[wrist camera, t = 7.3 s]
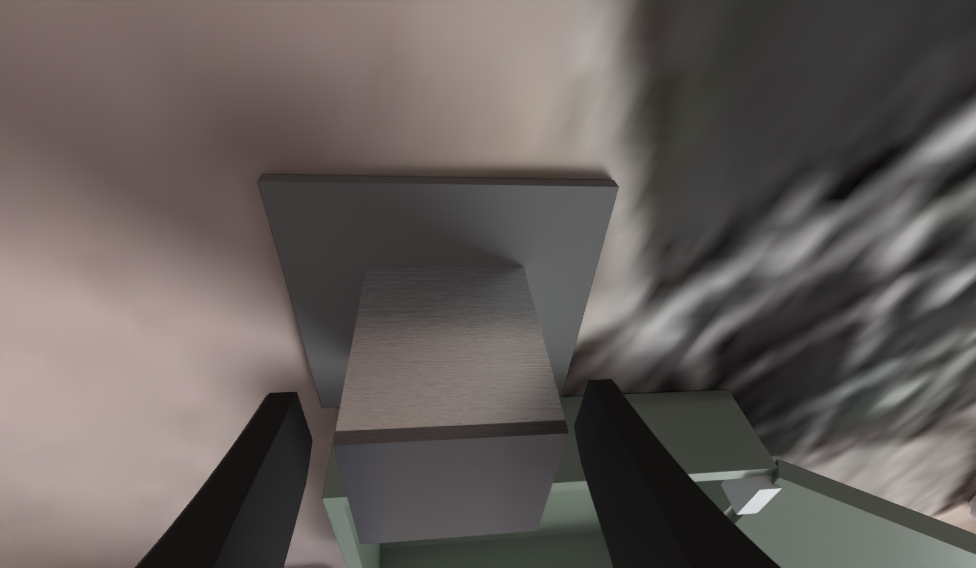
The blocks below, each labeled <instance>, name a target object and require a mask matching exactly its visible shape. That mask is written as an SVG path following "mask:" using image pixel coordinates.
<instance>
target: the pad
mask: <svg viewBox="0 0 976 568" xmlns="http://www.w3.org/2000/svg"><path fill="white" fill-rule="evenodd" d="M257 182H258V186H259V189H260V193H261V196H262V200H263V203H264V207H265V210H266V214H267V217H268V221H269V224H270V228H271V231H272V235H273V238H274V242H275V245H276V249H277V252H278V256H279V259H280V263H281V266H282V270H283V274H284V277H285V281H286V284H287V288H288V291H289V295H290V298H291V302H292V305H293V309H294V312H295V316H296V319H297V323H298V326H299V330H300V333H301V337H302V340H303V344H304V347H305V351H306V354H307V358H308V362H309V365H310V369H311V372H312V376H313V379H314V383H315V386H316V390H317V393H318V397H319V400H320V404H321V407H322V408H336V407H340V404H341V399H342V393H343V388H344V383H345V378H346V372H347V367H348V362H349V356H350V351H351V346H352V341H353V335H354V330H355V325H356V319H357V314H358V309H359V304H360V298H361V293H362V288H363V282H364V277H365V272H366V267H492V266H524V269H525V273H526V276H527V280H528V284H529V288H530V291H531V295H532V299H533V302H534V306H535V310H536V313H537V317H538V321H539V324H540V328H541V332H542V335H543V339H544V343H545V347H546V350H547V354H548V358H549V361H550V365H551V369H552V372H553V376H554V380H555V383H556V387H557V391H558V394H559V398H561V395H562V391H563V388H564V384H565V381H566V377H567V373H568V370H569V366H570V362H571V359H572V355H573V352H574V348H575V344H576V341H577V337H578V333H579V330H580V326H581V322H582V319H583V315H584V312H585V308H586V304H587V301H588V297H589V293H590V290H591V286H592V283H593V279H594V275H595V272H596V268H597V264H598V261H599V257H600V254H601V250H602V246H603V243H604V239H605V235H606V232H607V228H608V224H609V221H610V217H611V214H612V210H613V206H614V203H615V199H616V195H617V192H618V188H619V187H618V185H617V184H616V182H615V181H614V180H574V179H516V178H458V177H400V176H342V175H284V174H262V175H261V177H260V178H259V180H258V181H257Z"/></svg>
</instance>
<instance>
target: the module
mask: <svg viewBox="0 0 976 568" xmlns="http://www.w3.org/2000/svg"><path fill="white" fill-rule="evenodd" d="M568 435H569V431H568V428H567V424H566V420H565V417H564V413H563V409H562V406H561V402H560V398H559V394H558V391H557V387H556V383H555V380H554V376H553V372H552V369H551V365H550V361H549V358H548V354H547V350H546V347H545V343H544V339H543V335H542V332H541V328H540V324H539V321H538V317H537V313H536V310H535V306H534V302H533V299H532V295H531V291H530V288H529V284H528V280H527V276H526V273H525V269H524V266H492V267H366V272H365V277H364V282H363V288H362V293H361V298H360V304H359V309H358V314H357V319H356V325H355V330H354V335H353V341H352V346H351V351H350V356H349V362H348V367H347V372H346V378H345V383H344V388H343V393H342V399H341V404H340V409H339V415H338V420H337V425H336V430H335V436H334V441H333V449H334V452H335V456H336V460H337V463H338V467H339V470H340V474H341V478H342V481H343V485H344V488H345V492H346V496H347V499H348V503H349V506H350V510H351V514H352V517H353V521H354V524H355V528H356V532H357V535H358V539H359V542H360V545H362V544H375V543H387V542H400V541H413V540H426V539H438V538H451V537H464V536H477V535H489V534H502V533H515V532H527V531H537V530H538V527H539V524H540V521H541V518H542V515H543V512H544V509H545V506H546V503H547V499H548V496H549V493H550V490H551V487H552V484H553V481H554V478H555V475H556V472H557V469H558V466H559V463H560V460H561V457H562V453H563V450H564V447H565V444H566V441H567V438H568Z"/></svg>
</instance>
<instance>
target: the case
mask: <svg viewBox="0 0 976 568" xmlns="http://www.w3.org/2000/svg"><path fill="white" fill-rule="evenodd" d="M624 396H625V397H626V398H627V400H628V401H629V402H630V404H631V405H632V406H633V407H634V409H635V410H636V411H637V413H638V414H639V415H640V417H641V418H642V419H643V420H644V422H645V423H646V424H647V426H648V427H649V428H650V429H651V431H652V432H653V433H654V434H655V436H656V437H657V438H658V439H659V441H660V442H661V443H662V444H663V445H664V447H665V448H666V449H667V450H668V451H669V453H670V454H671V455H672V456H673V458H674V459H675V460H676V461H677V462H678V463H679V465H680V466H681V467H682V468H683V469H684V470H685V472H686V473H687V474H688V475H689V476H690V477H691V478H692V479H693V481H694V482H695V483H696V484H697V485H698V486H699V487H700V488H701V489H702V491H703V492H704V493H705V494H706V495H707V496H708V497H709V498H710V499H711V500H712V501H713V502H714V503H715V504H716V506H717V507H718V508H719V509H720V510H721V511H722V512H723V513H724V514H725V515H726V516H727V517H728V518H729V519H730V520H731V521H732V522H733V523H734V524H735V525H736V526H737V527H738V528H739V529H740V530H741V531H742V532H743V533H744V534H745V535H746V536H747V537H749V538H750V539H751V540H752V541H753V542H754V543H755V544H756V545H757V546H758V547H759V548H760V549H761V550H762V551H763V552H764V553H765V554H767V555H768V556H769V557H770V558H771V559H772V560H773V561H774V562H775V563H777V564H778V565H779V566H780V567H781V568H976V534H974V533H971V532H969V531H966V530H963V529H961V528H958V527H956V526H953V525H950V524H948V523H945V522H942V521H940V520H937V519H934V518H932V517H929V516H927V515H924V514H921V513H919V512H916V511H913V510H911V509H908V508H906V507H903V506H900V505H898V504H895V503H892V502H890V501H887V500H885V499H882V498H879V497H877V496H874V495H871V494H869V493H866V492H864V491H861V490H858V489H856V488H853V487H850V486H848V485H845V484H843V483H840V482H837V481H835V480H832V479H829V478H827V477H824V476H821V475H819V474H816V473H814V472H811V471H808V470H806V469H803V468H800V467H798V466H795V465H793V464H790V463H787V462H785V461H783V460H782V458H781V457H780V456H776V457H771V456H770V454H769V453H768V451H767V449H766V448H765V446H764V445H763V443H762V442H761V440H760V439H759V437H758V435H757V434H756V432H755V431H754V429H753V428H752V426H751V424H750V423H749V421H748V420H747V418H746V417H745V415H744V413H743V412H742V410H741V409H740V407H739V406H738V404H737V403H736V401H735V399H734V398H733V396H732V395H731V393H730V392H729V390H711V391H687V392H664V393H641V394H624ZM582 399H583V396H572V397H561V398H560V402H561V406H562V409H563V413H564V417H565V420H566V424H567V428H568V431H569V435H568V438H567V441H566V444H565V447H564V450H563V453H562V457H561V460H560V463H559V466H558V469H557V472H556V475H555V478H554V481H553V484H552V487H551V490H550V493H549V496H548V499H547V503H546V506H545V509H544V512H543V515H542V518H541V521H540V524H539V527H538V530H537V531H527V532H515V533H502V534H489V535H477V536H464V537H451V538H438V539H426V540H413V541H400V542H387V543H375V544H362V545H360V542H359V539H358V535H357V532H356V528H355V524H354V521H353V517H352V514H351V510H350V506H349V503H348V499H347V496H346V492H345V488H344V485H343V481H342V478H341V474H340V470H339V467H338V463H337V460H336V456H335V452H334V449H333V444H332V449H331V454H330V460H329V465H328V470H327V475H326V481H325V486H324V491H323V496H322V500H323V503H324V505H325V508H326V511H327V514H328V517H329V519H330V522H331V525H332V528H333V530H334V533H335V536H336V539H337V541H338V544H339V547H340V550H341V553H342V555H343V558H344V561H345V564H346V566H347V568H613V565H612V561H611V558H610V554H609V551H608V548H607V545H606V542H605V538H604V535H603V532H602V529H601V526H600V523H599V520H598V517H597V513H596V510H595V507H594V504H593V501H592V498H591V495H590V491H589V488H588V485H587V482H586V479H585V475H584V472H583V469H582V465H581V461H580V456H579V451H578V446H577V441H576V435H575V430H574V424H575V421H576V418H577V415H578V412H579V409H580V406H581V402H582ZM339 409H340V407H339ZM338 415H339V412H338ZM337 420H338V417H337ZM336 425H337V423H336ZM335 430H336V428H335ZM334 436H335V433H334ZM333 441H334V438H333Z"/></svg>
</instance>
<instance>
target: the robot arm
mask: <svg viewBox="0 0 976 568" xmlns="http://www.w3.org/2000/svg"><path fill="white" fill-rule="evenodd" d="M574 430H575V435H576V441H577V446H578V451H579V456H580V461H581V465H582V469H583V472H584V475H585V479H586V482H587V485H588V488H589V491H590V495H591V498H592V501H593V504H594V507H595V510H596V513H597V517H598V520H599V523H600V526H601V529H602V532H603V535H604V538H605V542H606V545H607V548H608V551H609V554H610V558H611V561H612V565H613V568H781V567H780V566H779V565H778V564H777V563H775V562H774V561H773V560H772V559H771V558H770V557H769V556H768V555H767V554H765V553H764V552H763V551H762V550H761V549H760V548H759V547H758V546H757V545H756V544H755V543H754V542H753V541H752V540H751V539H750V538H749V537H747V536H746V535H745V534H744V533H743V532H742V531H741V530H740V529H739V528H738V527H737V526H736V525H735V524H734V523H733V522H732V521H731V520H730V519H729V518H728V517H727V516H726V515H725V514H724V513H723V512H722V511H721V510H720V509H719V508H718V507H717V506H716V504H715V503H714V502H713V501H712V500H711V499H710V498H709V497H708V496H707V495H706V494H705V493H704V492H703V491H702V489H701V488H700V487H699V486H698V485H697V484H696V483H695V482H694V481H693V479H692V478H691V477H690V476H689V475H688V474H687V473H686V472H685V470H684V469H683V468H682V467H681V466H680V465H679V463H678V462H677V461H676V460H675V459H674V458H673V456H672V455H671V454H670V453H669V451H668V450H667V449H666V448H665V447H664V445H663V444H662V443H661V442H660V441H659V439H658V438H657V437H656V436H655V434H654V433H653V432H652V431H651V429H650V428H649V427H648V426H647V424H646V423H645V422H644V420H643V419H642V418H641V417H640V415H639V414H638V413H637V411H636V410H635V409H634V407H633V406H632V405H631V404H630V402H629V401H628V400H627V398H626V397H625V396H624V394H623V393H622V392H621V390H620V389H619V388H618V386H617V385H616V384H615V382H614V381H613V380H612V379H602V380H589V381H588V384H587V387H586V390H585V393H584V396H583V399H582V402H581V406H580V409H579V412H578V415H577V418H576V421H575V424H574ZM311 447H312V437H311V434H310V431H309V428H308V425H307V422H306V419H305V416H304V413H303V410H302V407H301V404H300V401H299V397H298V394H297V392H280V393H269V394H268V395H267V396H266V397H265V398H264V400H263V402H262V403H261V405H260V406H259V408H258V409H257V411H256V412H255V414H254V415H253V417H252V418H251V420H250V421H249V423H248V424H247V425H246V427H245V428H244V430H243V431H242V433H241V434H240V436H239V437H238V438H237V440H236V441H235V443H234V444H233V446H232V447H231V448H230V450H229V451H228V453H227V454H226V455H225V457H224V458H223V459H222V461H221V462H220V463H219V465H218V466H217V467H216V469H215V470H214V471H213V473H212V474H211V475H210V477H209V478H208V480H207V481H206V482H205V484H204V485H203V486H202V487H201V489H200V490H199V491H198V493H197V494H196V495H195V496H194V498H193V499H192V500H191V501H190V503H189V504H188V505H187V506H186V508H185V509H184V510H183V511H182V513H181V514H180V515H179V516H178V517H177V519H176V520H175V521H174V522H173V524H172V525H171V526H170V527H169V529H168V530H167V531H166V532H165V533H164V535H163V536H162V537H161V538H160V539H159V540H158V542H157V543H156V544H155V545H154V546H153V547H152V549H151V550H150V551H149V552H148V553H147V554H146V555H145V557H144V558H143V559H142V560H141V561H140V562H139V563H138V565H137V566H136V567H135V568H284V564H285V561H286V557H287V553H288V549H289V546H290V542H291V538H292V535H293V531H294V527H295V523H296V520H297V516H298V512H299V508H300V505H301V501H302V497H303V493H304V489H305V485H306V480H307V474H308V468H309V461H310V454H311Z"/></svg>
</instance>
